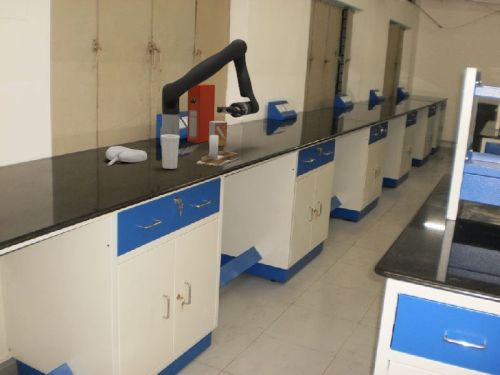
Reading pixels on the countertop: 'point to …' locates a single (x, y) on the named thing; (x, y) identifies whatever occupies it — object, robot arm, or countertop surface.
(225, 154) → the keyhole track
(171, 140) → the cup
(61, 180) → the countertop surface
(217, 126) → the small box
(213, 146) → the post
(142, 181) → the countertop surface
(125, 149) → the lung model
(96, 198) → the countertop surface
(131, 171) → the countertop surface
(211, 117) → the file binder
